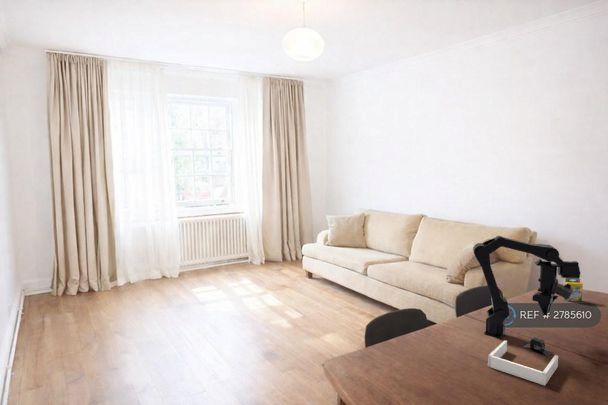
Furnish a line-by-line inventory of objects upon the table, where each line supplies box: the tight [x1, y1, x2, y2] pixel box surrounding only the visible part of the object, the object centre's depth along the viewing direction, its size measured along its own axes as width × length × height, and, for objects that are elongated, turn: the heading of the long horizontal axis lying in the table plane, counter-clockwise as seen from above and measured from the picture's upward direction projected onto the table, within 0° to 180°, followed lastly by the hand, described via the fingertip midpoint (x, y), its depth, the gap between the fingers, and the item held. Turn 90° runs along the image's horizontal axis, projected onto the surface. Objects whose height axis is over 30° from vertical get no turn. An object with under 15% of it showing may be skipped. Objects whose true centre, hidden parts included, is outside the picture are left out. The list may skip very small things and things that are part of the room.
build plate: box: [522, 336, 555, 357], centre depth 154 cm, size 12×7×5 cm, turn 35°
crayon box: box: [563, 278, 584, 303], centre depth 207 cm, size 7×3×12 cm, turn 81°
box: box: [487, 339, 559, 387], centre depth 141 cm, size 18×17×4 cm
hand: (546, 314), depth 161 cm, fingers open, 3 cm apart
